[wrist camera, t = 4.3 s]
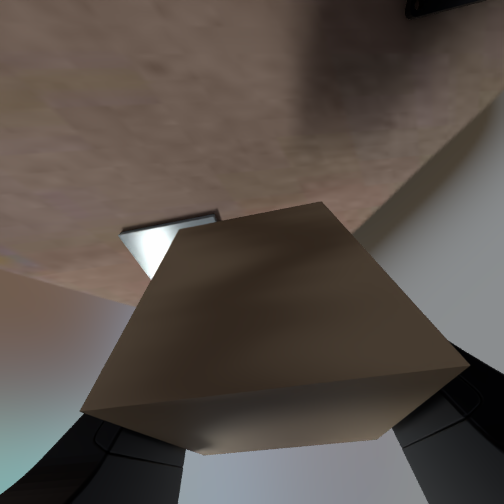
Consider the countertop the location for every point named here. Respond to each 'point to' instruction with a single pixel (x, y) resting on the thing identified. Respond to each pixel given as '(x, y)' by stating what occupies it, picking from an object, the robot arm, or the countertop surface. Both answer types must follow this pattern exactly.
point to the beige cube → (271, 341)
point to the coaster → (157, 241)
